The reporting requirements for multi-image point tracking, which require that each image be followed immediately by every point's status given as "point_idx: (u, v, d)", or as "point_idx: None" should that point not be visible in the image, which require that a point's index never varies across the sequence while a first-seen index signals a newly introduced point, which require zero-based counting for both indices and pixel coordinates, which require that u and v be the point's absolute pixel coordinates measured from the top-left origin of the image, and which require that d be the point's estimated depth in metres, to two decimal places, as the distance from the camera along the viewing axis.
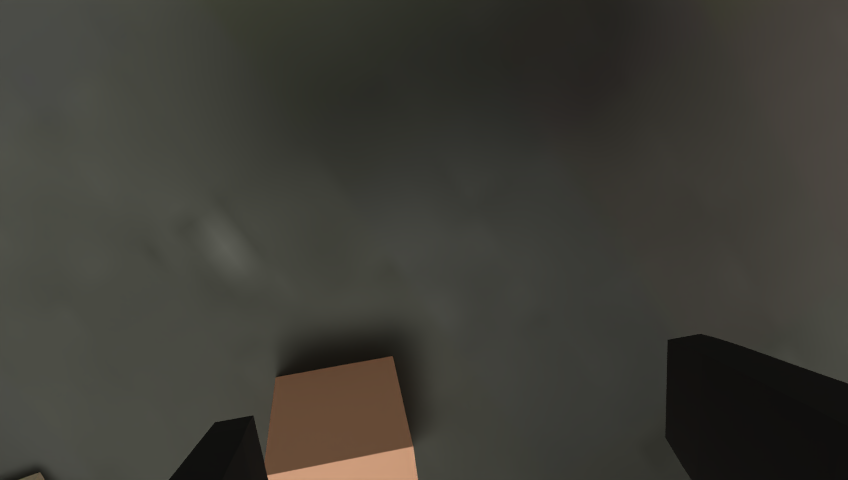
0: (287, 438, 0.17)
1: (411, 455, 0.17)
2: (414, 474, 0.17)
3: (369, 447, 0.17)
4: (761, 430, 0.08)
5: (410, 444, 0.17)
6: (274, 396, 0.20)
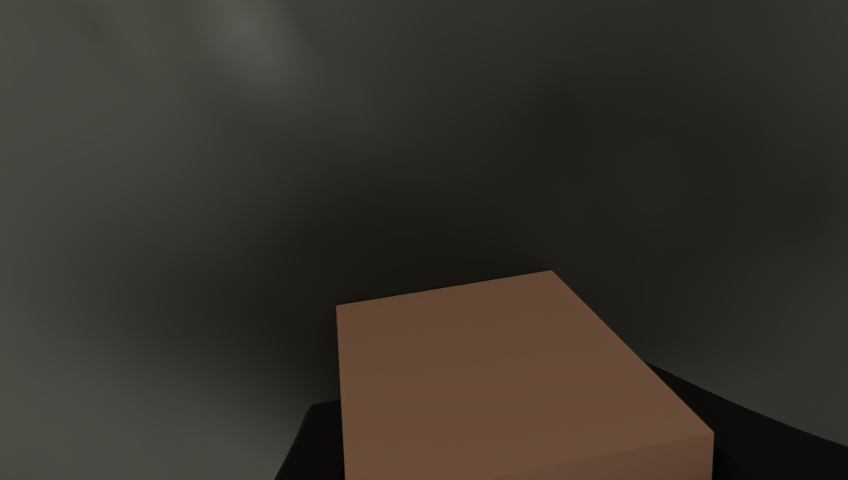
0: (388, 416, 0.08)
1: (707, 455, 0.07)
2: None
3: (601, 434, 0.07)
4: None
5: (703, 427, 0.07)
6: (338, 336, 0.10)
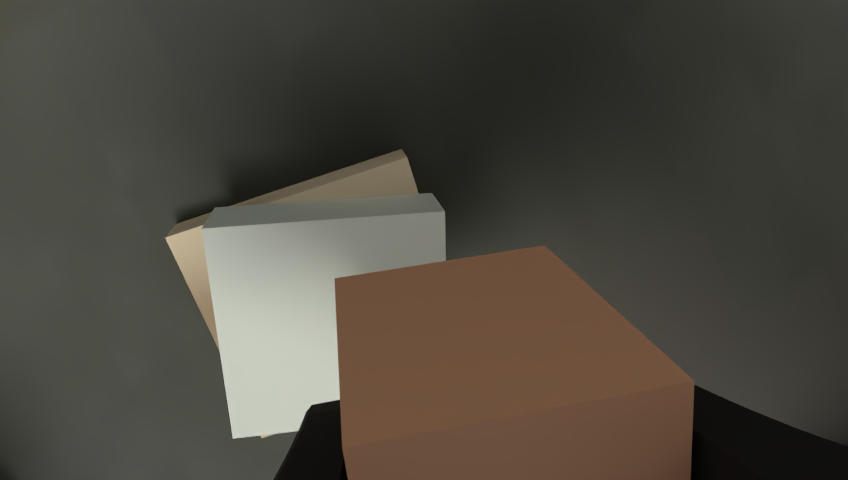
0: (383, 371, 0.08)
1: (688, 403, 0.07)
2: (685, 449, 0.07)
3: (586, 383, 0.07)
4: None
5: (684, 377, 0.07)
6: (336, 305, 0.10)
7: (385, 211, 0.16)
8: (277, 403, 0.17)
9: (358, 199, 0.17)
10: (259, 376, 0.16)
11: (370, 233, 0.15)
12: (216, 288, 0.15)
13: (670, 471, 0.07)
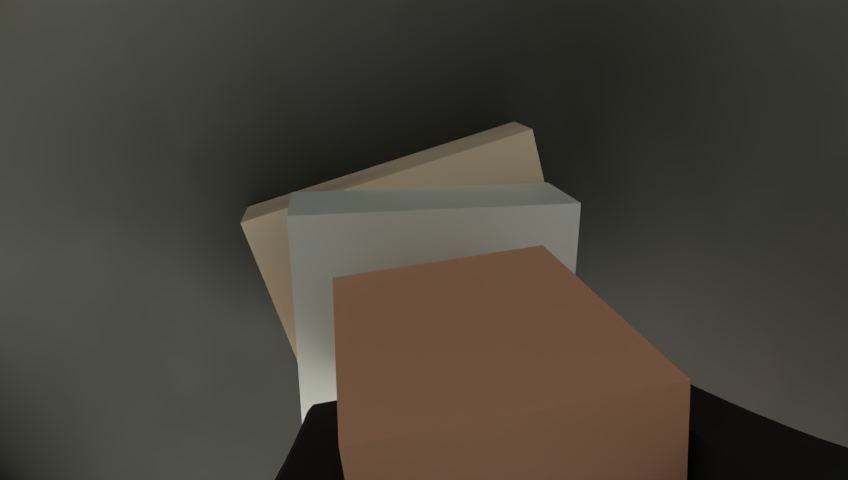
0: (380, 370, 0.08)
1: (684, 402, 0.07)
2: (681, 448, 0.07)
3: (582, 382, 0.07)
4: None
5: (680, 376, 0.07)
6: (333, 304, 0.10)
7: (505, 201, 0.13)
8: None
9: (463, 187, 0.14)
10: None
11: (490, 227, 0.13)
12: (300, 291, 0.12)
13: (666, 470, 0.07)
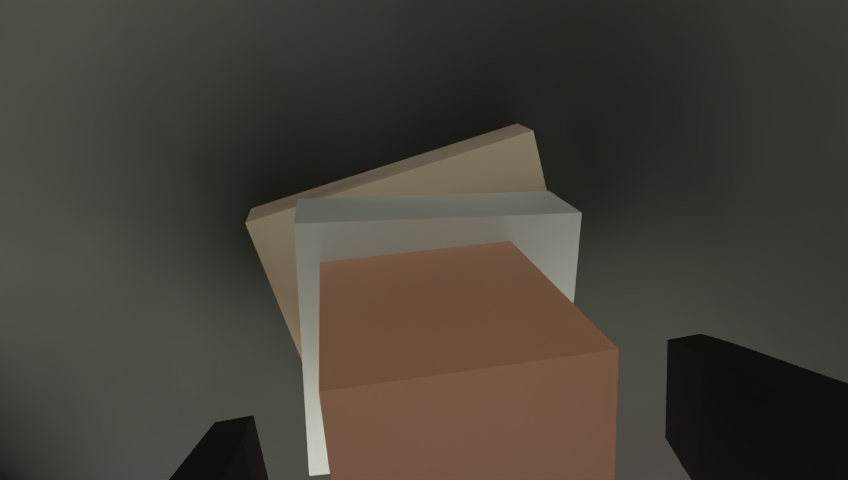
0: (357, 336, 0.09)
1: (613, 368, 0.08)
2: (611, 409, 0.09)
3: (528, 349, 0.08)
4: (761, 430, 0.08)
5: (611, 346, 0.08)
6: (320, 284, 0.11)
7: (508, 210, 0.13)
8: None
9: (466, 195, 0.14)
10: None
11: (493, 235, 0.13)
12: (305, 296, 0.13)
13: (598, 427, 0.09)
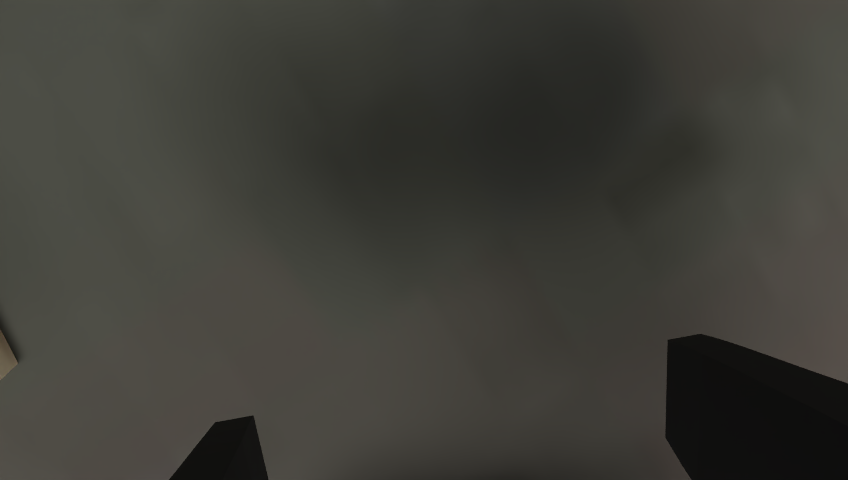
0: None
1: None
2: None
3: None
4: (761, 430, 0.08)
5: None
6: None
7: None
8: None
9: None
10: None
11: None
12: None
13: None
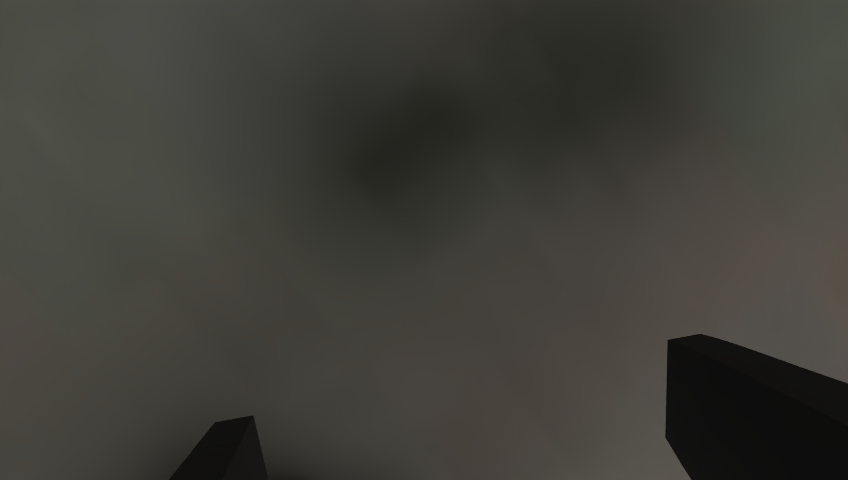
0: None
1: None
2: None
3: None
4: (761, 430, 0.08)
5: None
6: None
7: None
8: None
9: None
10: None
11: None
12: None
13: None
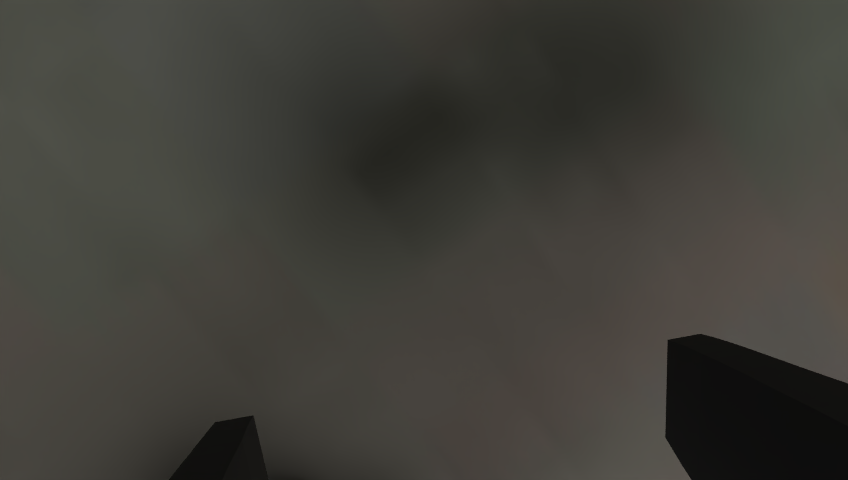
0: None
1: None
2: None
3: None
4: (761, 430, 0.08)
5: None
6: None
7: None
8: None
9: None
10: None
11: None
12: None
13: None
